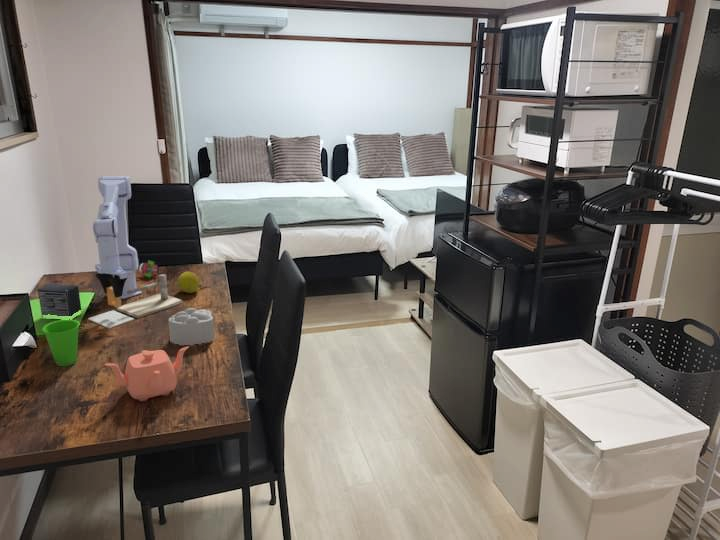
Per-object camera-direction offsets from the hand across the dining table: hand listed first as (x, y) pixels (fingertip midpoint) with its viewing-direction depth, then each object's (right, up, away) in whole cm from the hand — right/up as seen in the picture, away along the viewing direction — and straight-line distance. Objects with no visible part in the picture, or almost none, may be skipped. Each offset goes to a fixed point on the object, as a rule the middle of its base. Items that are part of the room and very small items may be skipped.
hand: (113, 294), depth 173 cm
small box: (-18, -8, +3) cm, 20 cm away
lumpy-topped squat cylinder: (+29, -13, -10) cm, 34 cm away
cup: (0, -18, -27) cm, 32 cm away
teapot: (+29, -23, -41) cm, 55 cm away
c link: (0, -4, +1) cm, 4 cm away
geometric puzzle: (-5, +5, +44) cm, 44 cm away
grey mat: (-1, -8, +1) cm, 9 cm away
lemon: (+16, 0, +28) cm, 32 cm away
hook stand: (+7, -5, +13) cm, 16 cm away
